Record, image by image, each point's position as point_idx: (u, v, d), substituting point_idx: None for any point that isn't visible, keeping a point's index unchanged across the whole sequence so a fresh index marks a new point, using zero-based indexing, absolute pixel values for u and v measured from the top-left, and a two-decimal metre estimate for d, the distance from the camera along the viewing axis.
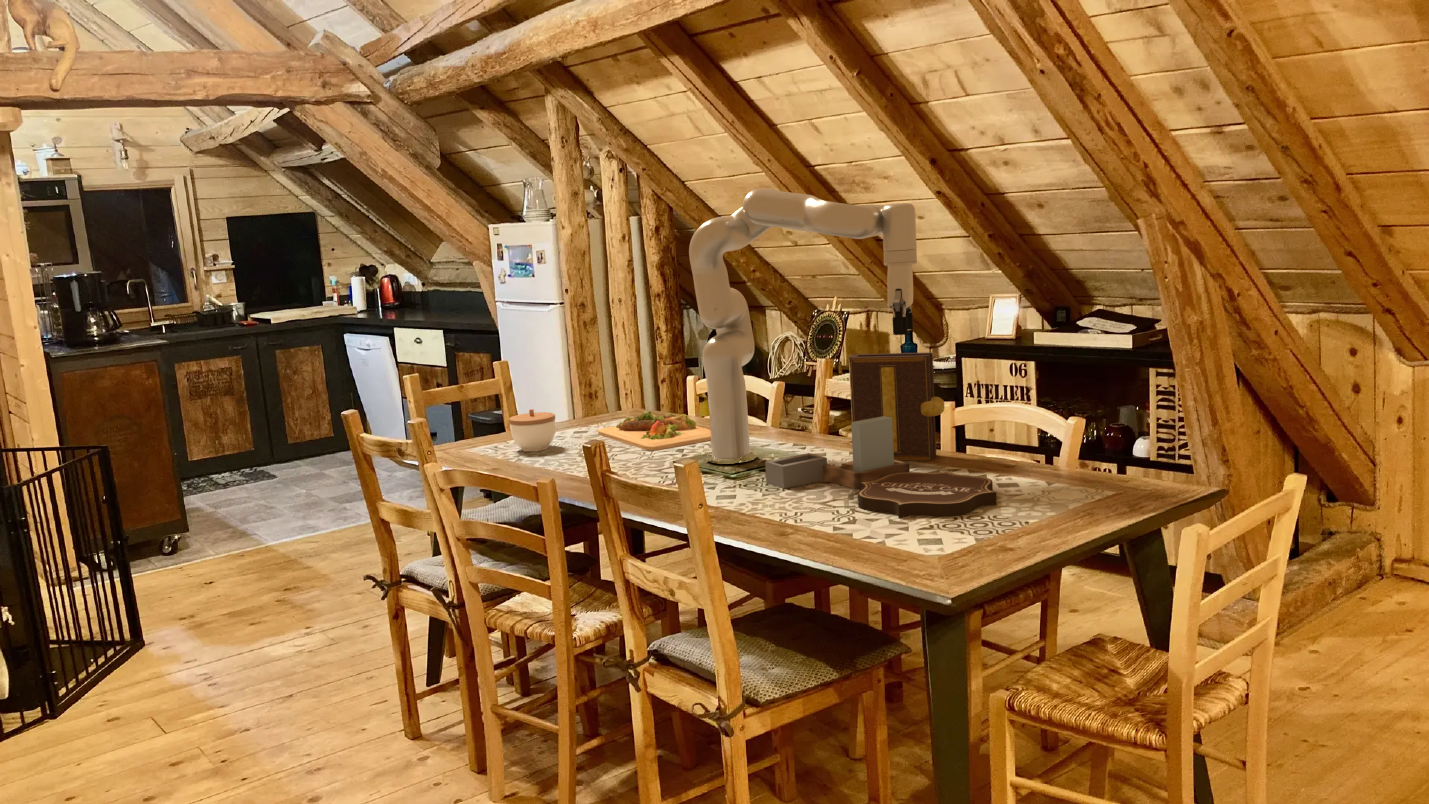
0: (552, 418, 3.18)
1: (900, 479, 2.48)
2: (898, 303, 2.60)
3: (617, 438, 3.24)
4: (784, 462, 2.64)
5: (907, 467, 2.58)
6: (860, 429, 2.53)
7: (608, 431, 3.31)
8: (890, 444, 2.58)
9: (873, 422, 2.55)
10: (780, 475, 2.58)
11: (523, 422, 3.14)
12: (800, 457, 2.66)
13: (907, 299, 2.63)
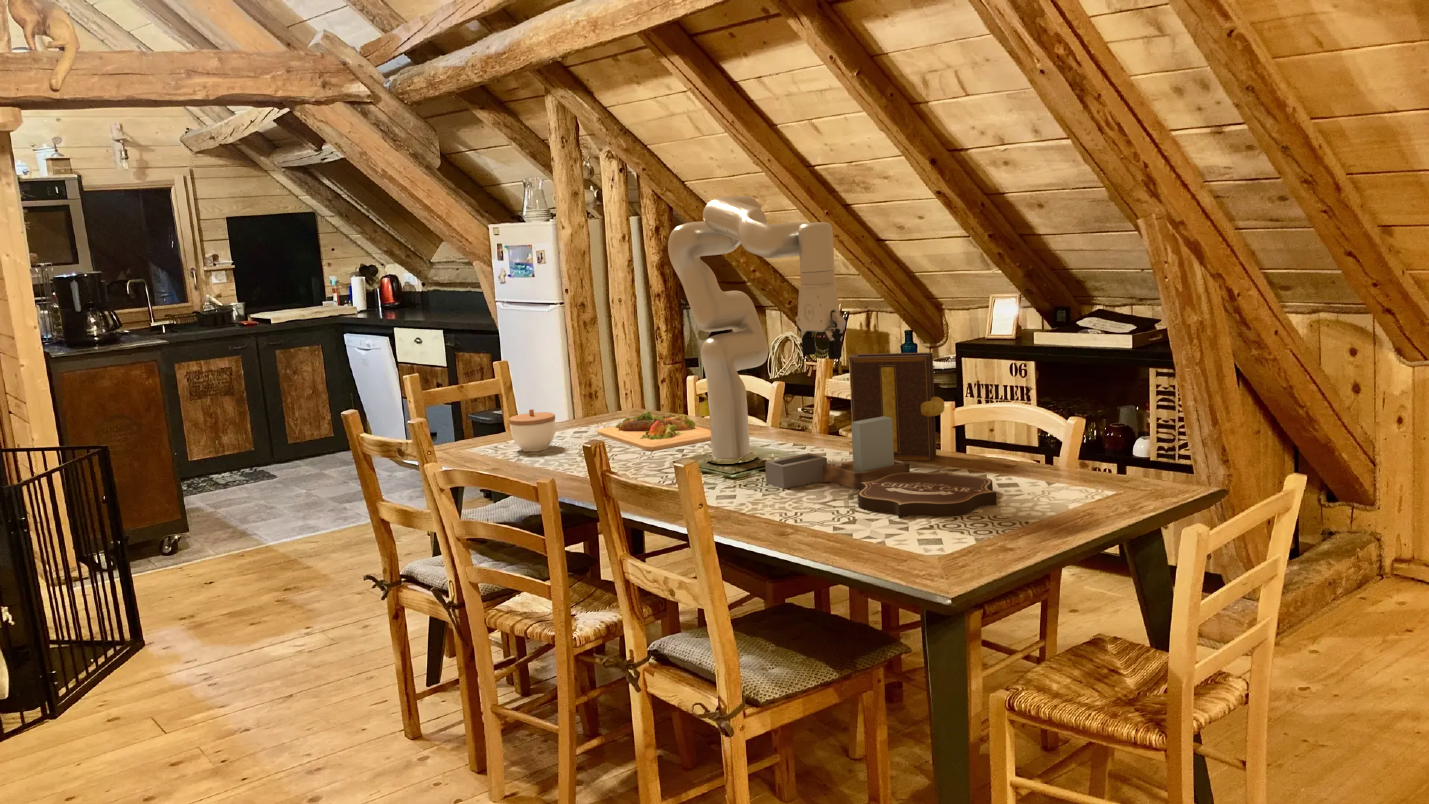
0: (552, 418, 3.18)
1: (900, 479, 2.48)
2: (844, 324, 2.49)
3: (616, 438, 3.24)
4: (784, 462, 2.64)
5: (907, 467, 2.58)
6: (860, 429, 2.53)
7: (607, 431, 3.31)
8: (890, 444, 2.58)
9: (873, 422, 2.54)
10: (780, 475, 2.58)
11: (523, 422, 3.14)
12: (800, 457, 2.66)
13: None
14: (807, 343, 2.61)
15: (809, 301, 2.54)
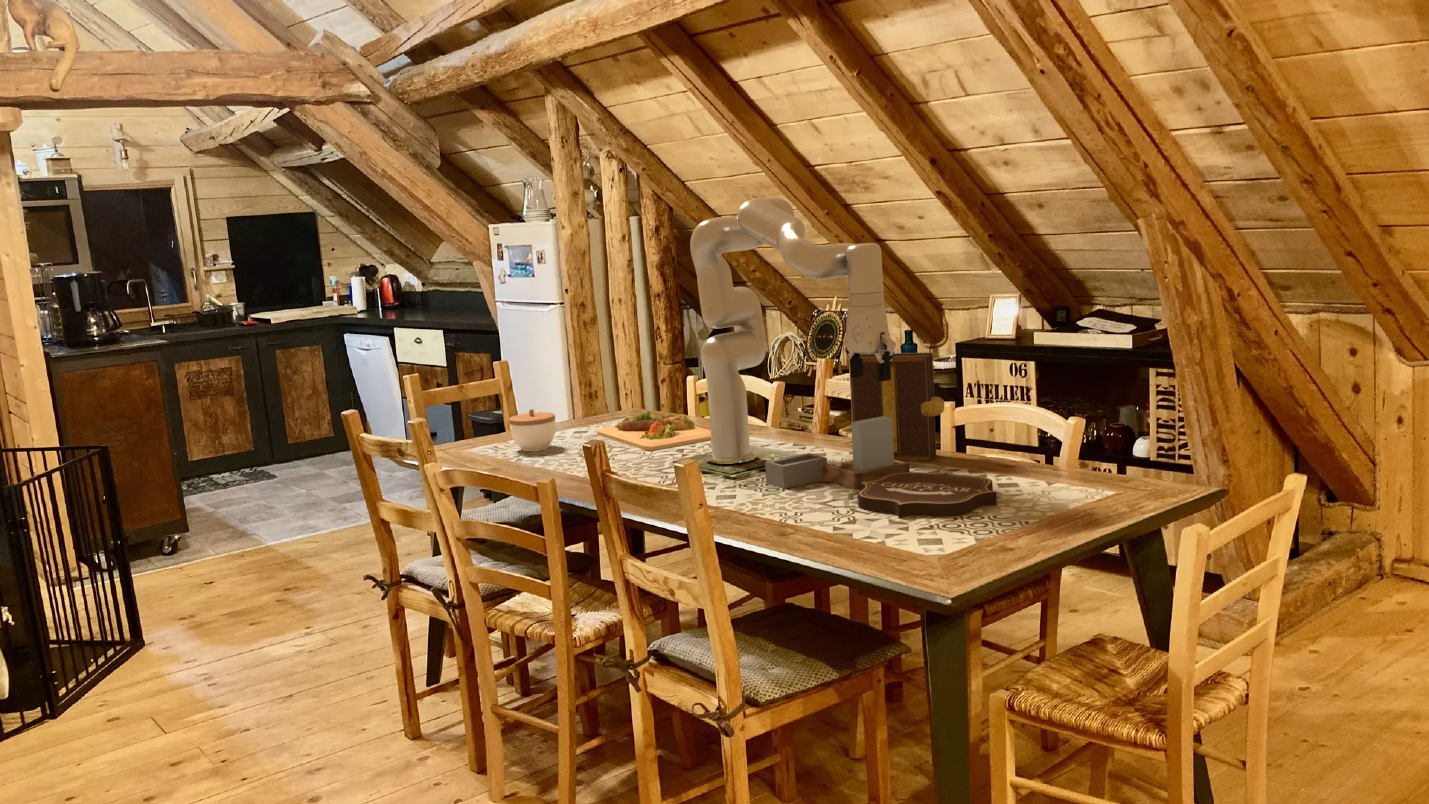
0: (552, 418, 3.18)
1: (900, 479, 2.48)
2: (894, 347, 2.46)
3: (616, 438, 3.24)
4: (784, 462, 2.64)
5: (907, 467, 2.58)
6: (860, 429, 2.53)
7: (607, 431, 3.32)
8: (890, 444, 2.58)
9: (873, 422, 2.54)
10: (780, 475, 2.58)
11: (523, 422, 3.14)
12: (800, 457, 2.66)
13: None
14: (855, 365, 2.57)
15: (858, 323, 2.51)
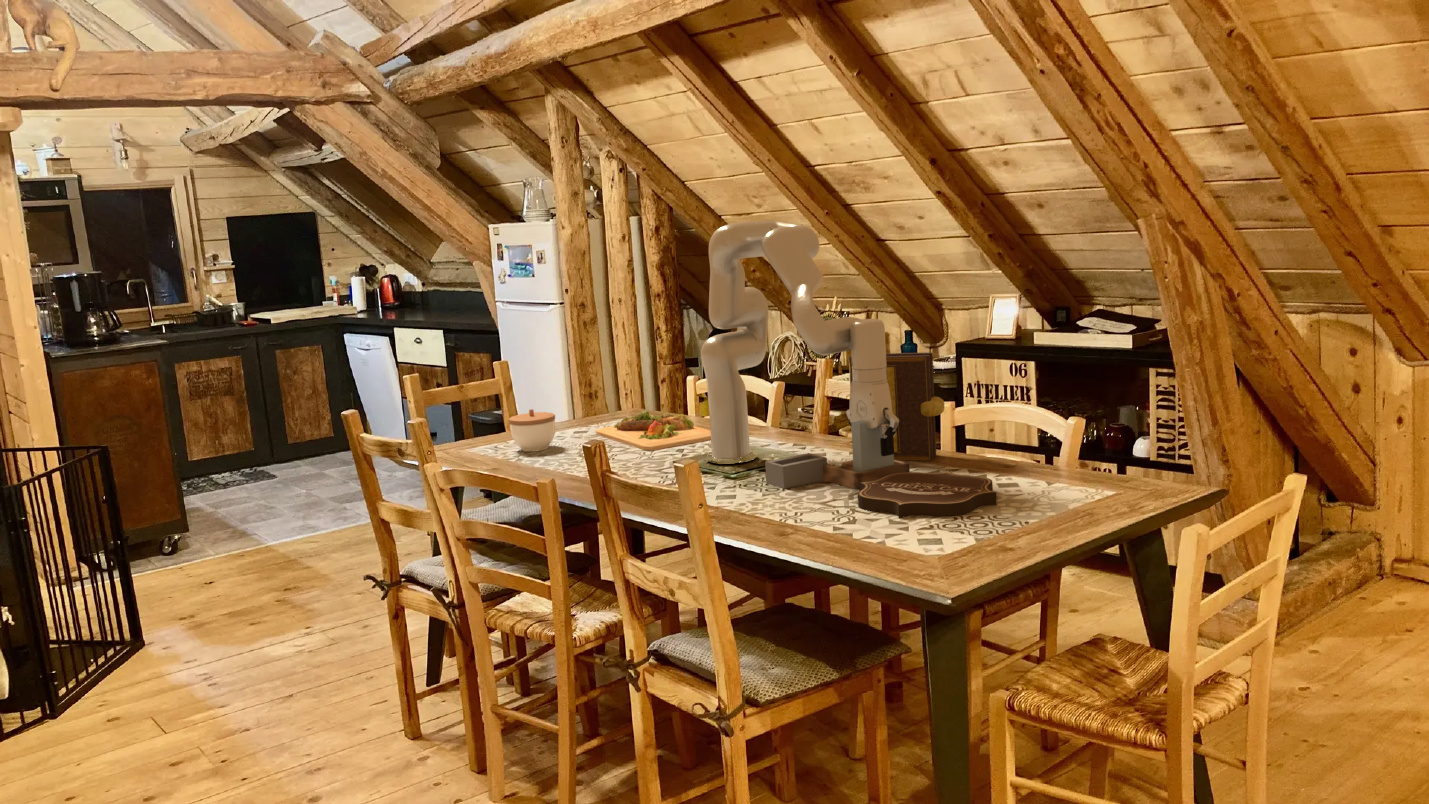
0: (552, 418, 3.18)
1: (900, 479, 2.48)
2: (897, 423, 2.49)
3: (615, 438, 3.25)
4: (784, 462, 2.64)
5: (907, 467, 2.58)
6: (860, 429, 2.53)
7: (606, 431, 3.32)
8: None
9: None
10: (780, 475, 2.58)
11: (523, 422, 3.14)
12: (800, 457, 2.66)
13: None
14: None
15: (861, 398, 2.53)
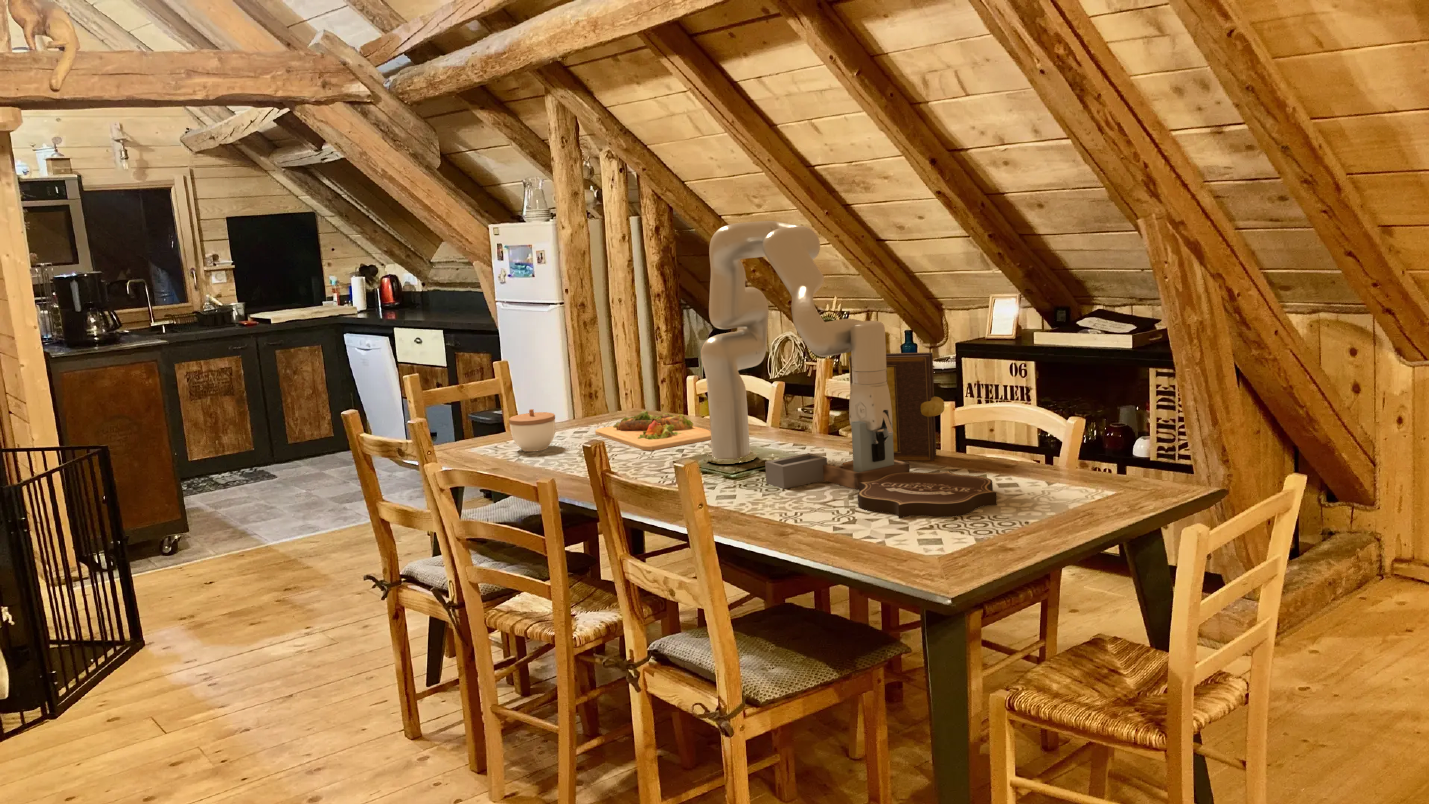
0: (552, 418, 3.18)
1: (900, 479, 2.48)
2: (890, 434, 2.52)
3: (614, 438, 3.25)
4: (784, 462, 2.64)
5: (907, 467, 2.58)
6: (860, 429, 2.53)
7: (605, 431, 3.32)
8: (890, 444, 2.58)
9: None
10: (780, 475, 2.58)
11: (523, 422, 3.14)
12: (800, 457, 2.66)
13: (891, 420, 2.53)
14: None
15: (861, 400, 2.54)
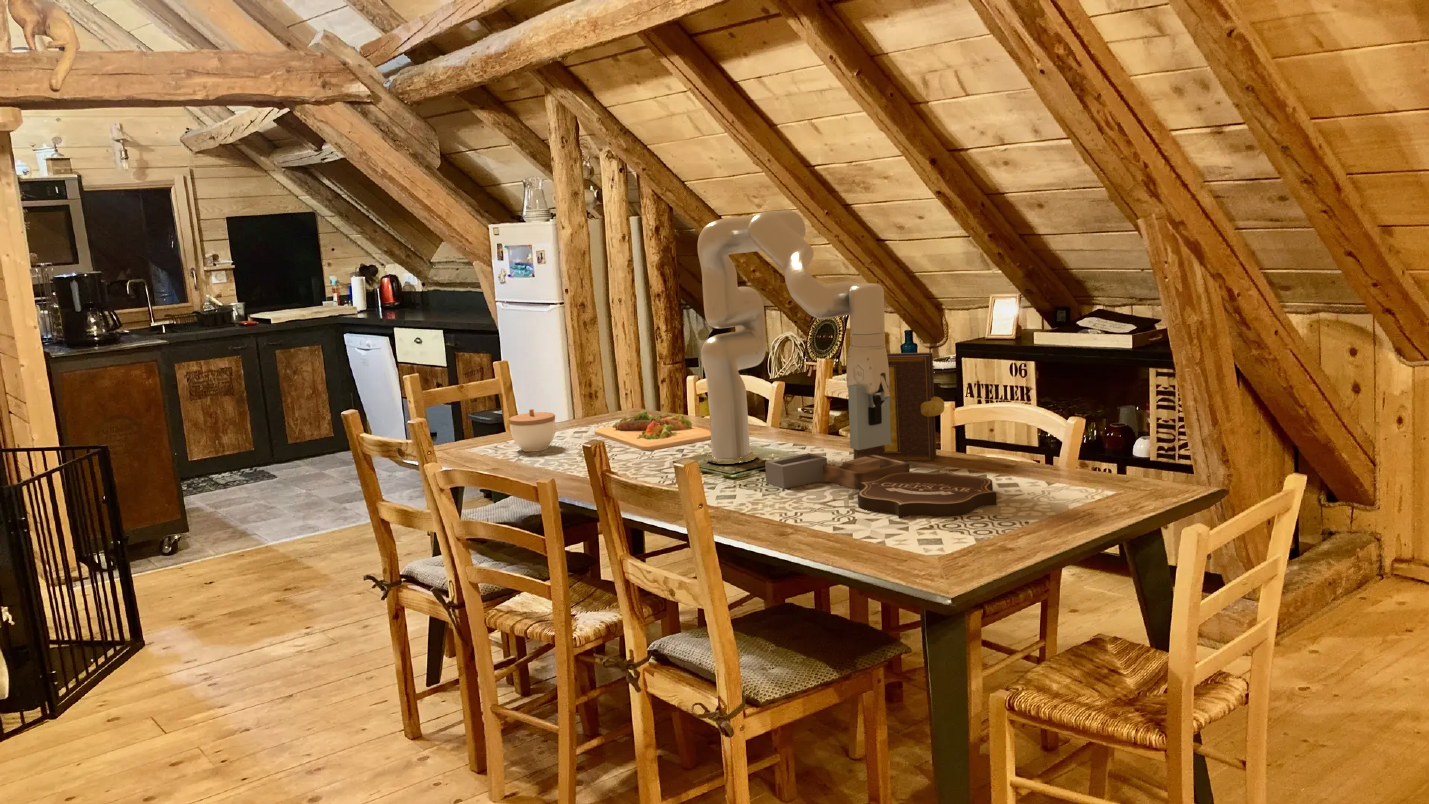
0: (552, 418, 3.18)
1: (900, 479, 2.48)
2: (887, 397, 2.50)
3: (613, 438, 3.25)
4: (784, 462, 2.64)
5: (907, 467, 2.58)
6: (857, 392, 2.52)
7: (604, 431, 3.32)
8: (887, 408, 2.57)
9: None
10: (780, 475, 2.58)
11: (523, 422, 3.14)
12: (800, 457, 2.66)
13: None
14: None
15: (859, 363, 2.52)
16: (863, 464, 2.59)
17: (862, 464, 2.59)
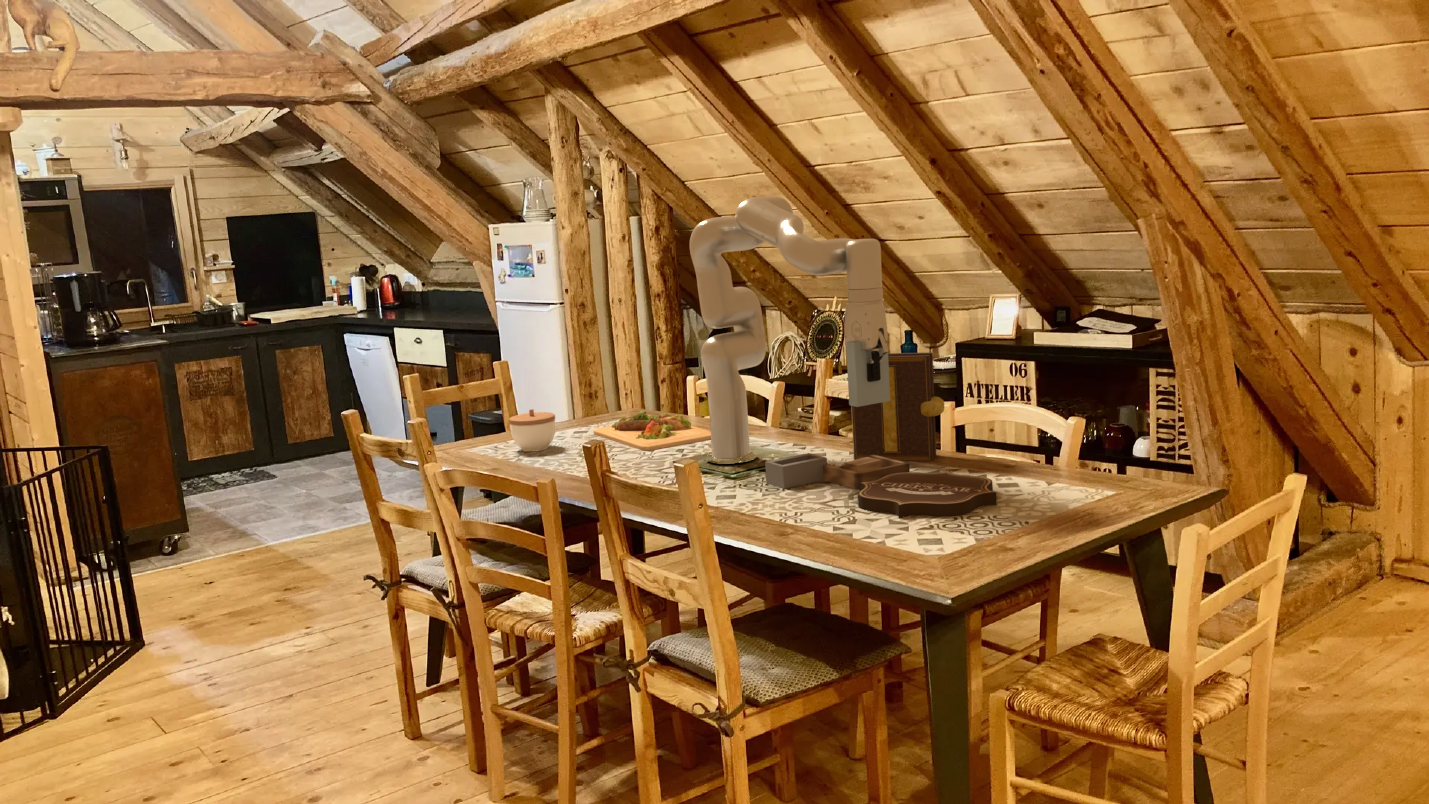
0: (552, 418, 3.18)
1: (900, 479, 2.48)
2: (886, 352, 2.49)
3: (612, 438, 3.25)
4: (784, 462, 2.64)
5: (907, 467, 2.58)
6: (855, 348, 2.50)
7: (603, 431, 3.32)
8: (885, 365, 2.55)
9: None
10: (780, 475, 2.58)
11: (523, 422, 3.14)
12: (800, 457, 2.66)
13: (887, 338, 2.50)
14: None
15: (856, 318, 2.51)
16: (864, 464, 2.59)
17: (863, 465, 2.59)
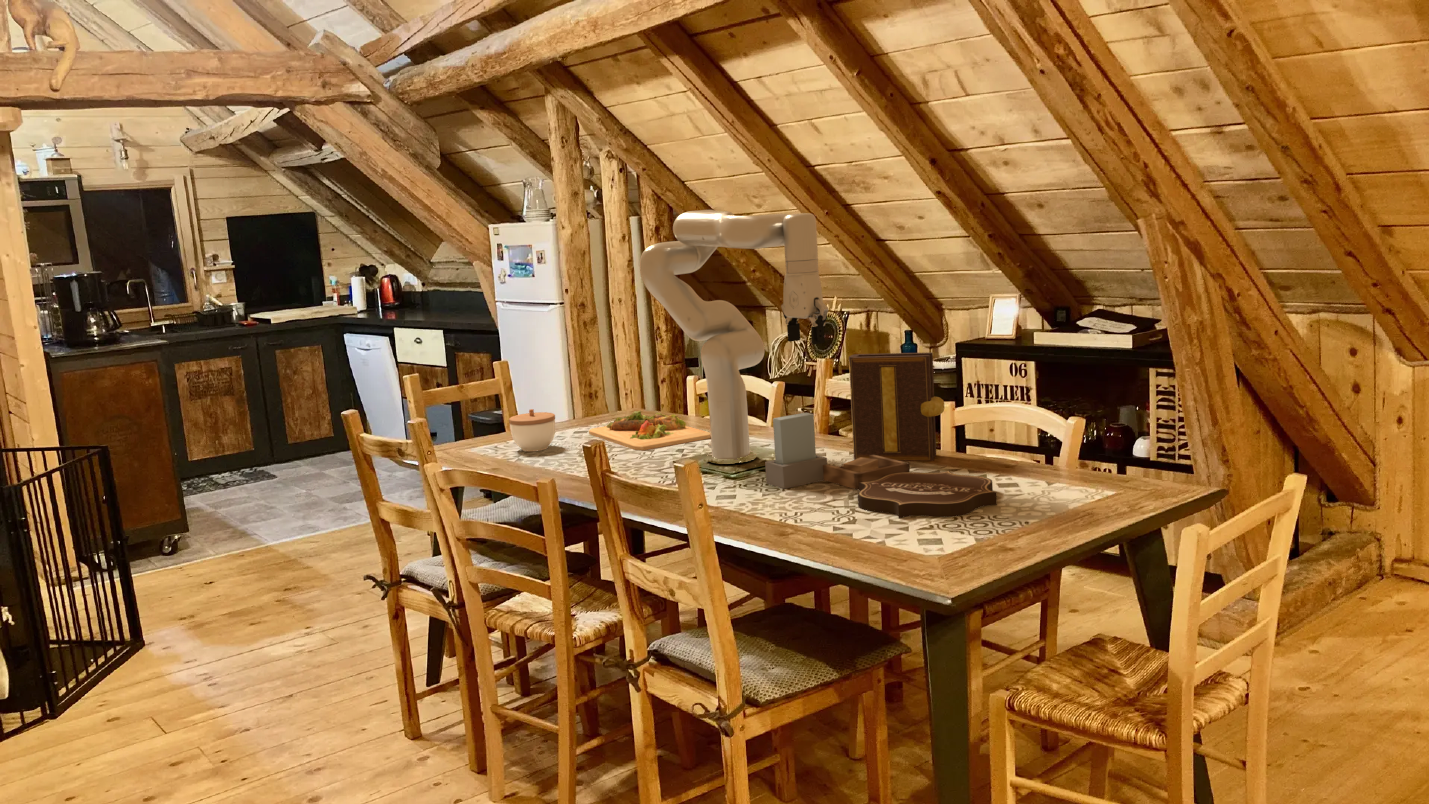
0: (552, 418, 3.18)
1: (900, 479, 2.48)
2: (827, 311, 2.60)
3: (607, 438, 3.26)
4: None
5: (907, 467, 2.58)
6: (781, 425, 2.58)
7: (598, 431, 3.33)
8: (812, 440, 2.63)
9: (794, 418, 2.60)
10: (780, 475, 2.58)
11: (523, 422, 3.14)
12: None
13: None
14: (792, 329, 2.72)
15: (793, 289, 2.65)
16: (865, 465, 2.59)
17: (864, 465, 2.59)
